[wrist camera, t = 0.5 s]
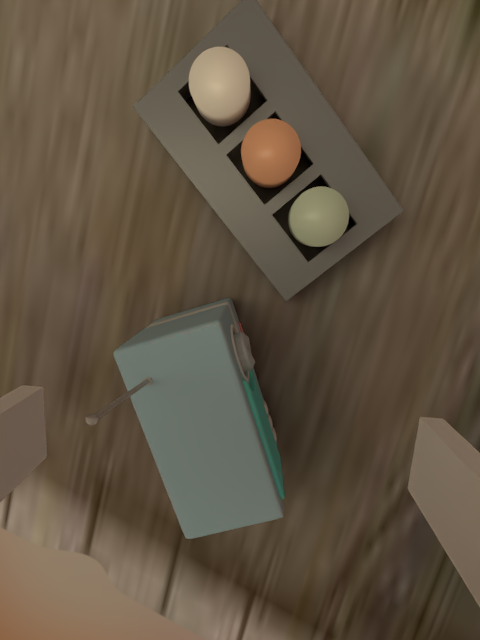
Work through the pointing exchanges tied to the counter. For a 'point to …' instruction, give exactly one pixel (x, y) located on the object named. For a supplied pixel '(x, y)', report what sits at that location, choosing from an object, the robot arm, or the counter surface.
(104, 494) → the counter surface
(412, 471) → the robot arm
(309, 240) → the button sage
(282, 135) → the button terracotta
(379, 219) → the grey piece
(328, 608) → the counter surface
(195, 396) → the radio
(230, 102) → the button ivory
